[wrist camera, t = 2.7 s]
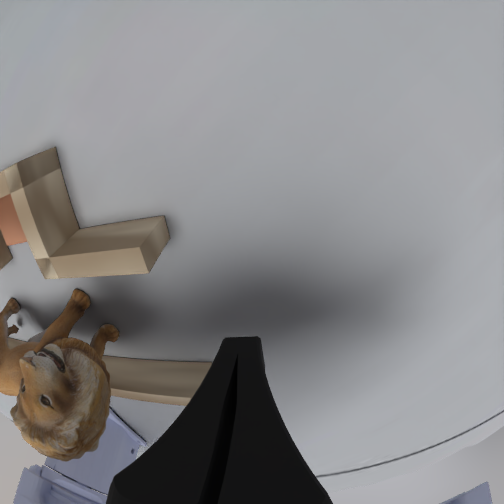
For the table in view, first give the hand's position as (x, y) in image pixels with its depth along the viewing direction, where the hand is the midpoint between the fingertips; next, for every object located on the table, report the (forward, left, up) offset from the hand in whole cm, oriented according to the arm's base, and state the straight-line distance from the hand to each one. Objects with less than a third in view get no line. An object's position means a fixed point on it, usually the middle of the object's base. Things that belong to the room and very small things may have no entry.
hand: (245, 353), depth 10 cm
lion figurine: (0, +12, -3) cm, 12 cm away
